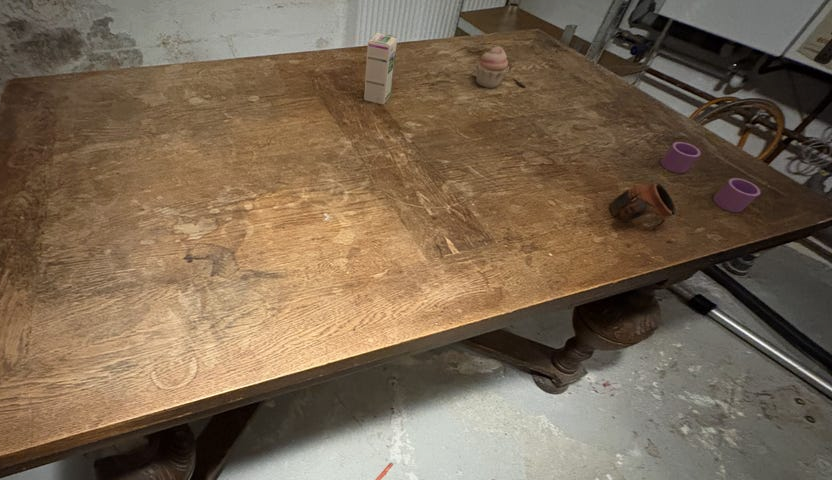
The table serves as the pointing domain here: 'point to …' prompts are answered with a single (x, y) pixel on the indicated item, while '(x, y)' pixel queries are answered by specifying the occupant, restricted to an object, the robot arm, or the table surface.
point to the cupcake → (492, 68)
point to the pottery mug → (644, 203)
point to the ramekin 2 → (736, 195)
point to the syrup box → (379, 68)
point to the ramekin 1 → (680, 157)
